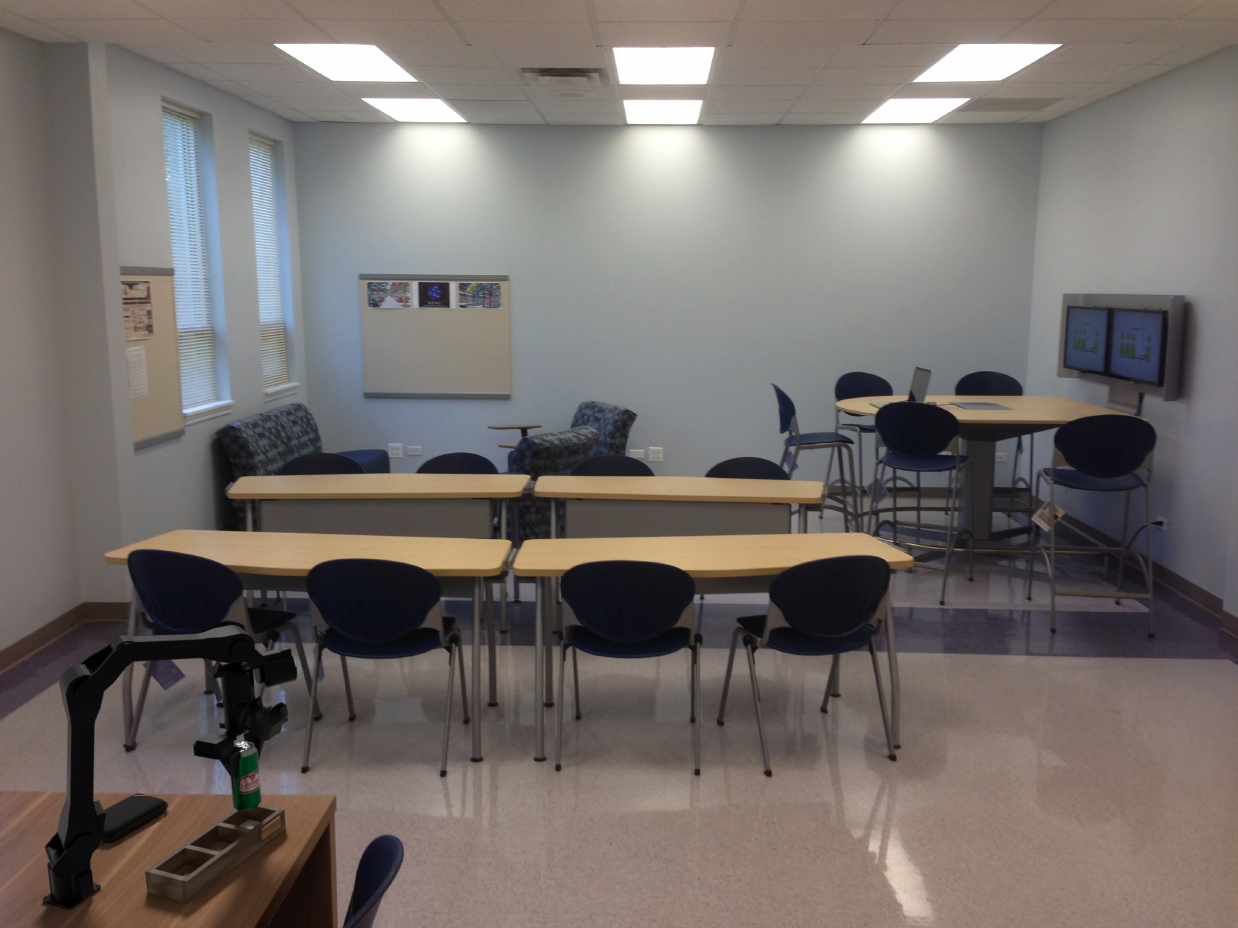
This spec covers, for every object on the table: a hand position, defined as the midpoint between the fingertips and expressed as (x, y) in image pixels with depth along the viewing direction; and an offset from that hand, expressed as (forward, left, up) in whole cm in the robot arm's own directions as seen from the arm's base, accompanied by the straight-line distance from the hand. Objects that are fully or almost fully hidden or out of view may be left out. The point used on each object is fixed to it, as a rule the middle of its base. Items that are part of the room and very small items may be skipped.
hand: (244, 771), depth 182 cm
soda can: (0, 0, -7) cm, 7 cm away
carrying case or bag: (-27, -4, -14) cm, 31 cm away
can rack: (0, -8, -13) cm, 15 cm away
